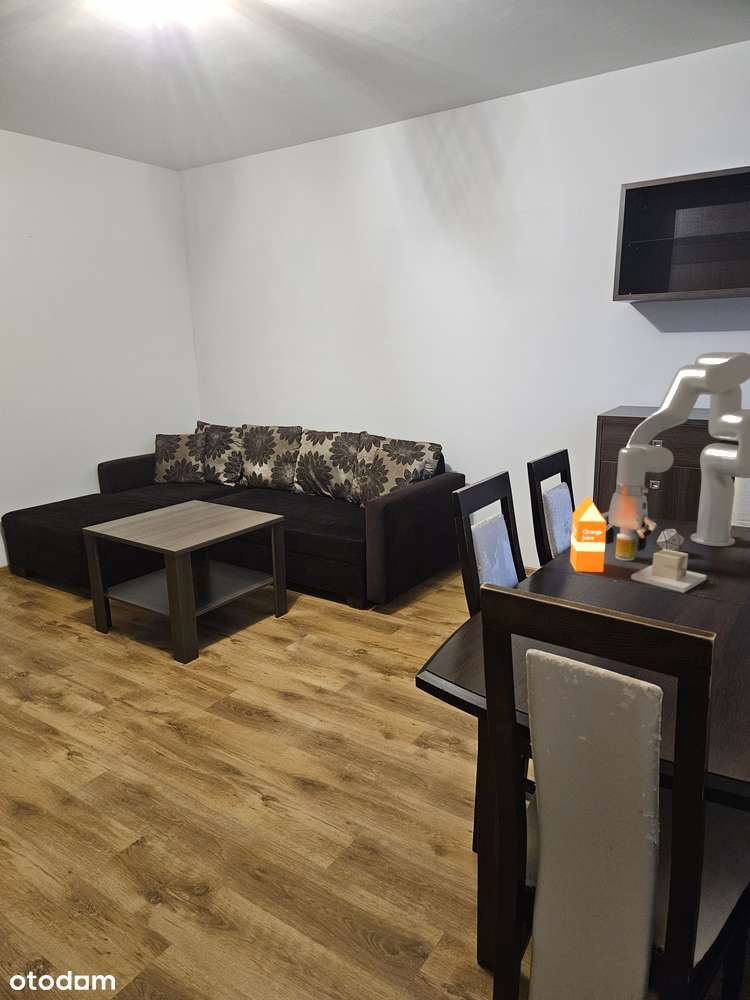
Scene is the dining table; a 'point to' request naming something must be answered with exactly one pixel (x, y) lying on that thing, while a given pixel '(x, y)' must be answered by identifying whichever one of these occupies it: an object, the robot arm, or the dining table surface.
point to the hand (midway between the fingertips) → (624, 546)
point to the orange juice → (588, 538)
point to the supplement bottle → (625, 544)
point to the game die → (670, 539)
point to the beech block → (669, 564)
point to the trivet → (678, 585)
